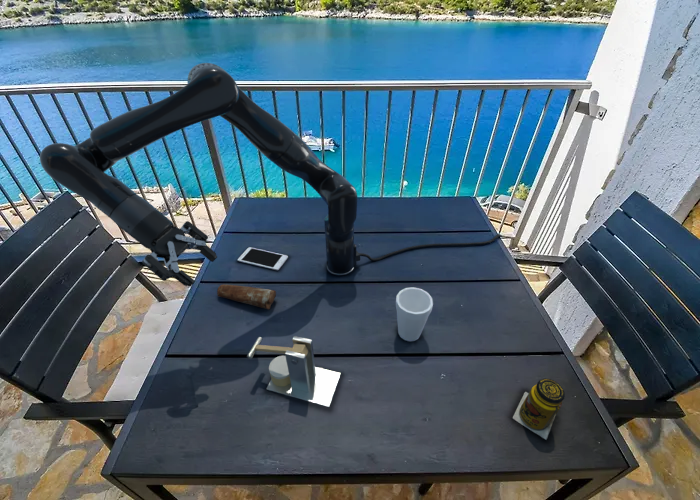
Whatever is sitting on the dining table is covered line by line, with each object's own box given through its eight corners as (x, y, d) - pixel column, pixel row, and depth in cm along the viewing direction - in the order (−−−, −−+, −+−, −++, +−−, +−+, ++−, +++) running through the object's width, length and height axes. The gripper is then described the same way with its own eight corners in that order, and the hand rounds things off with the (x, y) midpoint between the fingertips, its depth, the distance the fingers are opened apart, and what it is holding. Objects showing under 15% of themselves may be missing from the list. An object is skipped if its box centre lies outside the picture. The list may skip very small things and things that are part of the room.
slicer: (266, 391, 84) (256, 355, 75) (282, 360, 91) (274, 323, 82) (329, 409, 81) (326, 373, 72) (340, 375, 88) (339, 338, 78)
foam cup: (428, 324, 100) (435, 292, 92) (423, 349, 93) (430, 317, 85) (396, 315, 103) (400, 284, 95) (388, 340, 96) (392, 308, 88)
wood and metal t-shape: (249, 360, 81) (244, 353, 80) (260, 341, 85) (256, 334, 84) (302, 365, 76) (298, 359, 75) (311, 345, 80) (307, 338, 79)
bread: (270, 314, 103) (267, 301, 100) (215, 299, 108) (210, 287, 105) (279, 299, 108) (277, 286, 105) (226, 286, 113) (222, 273, 109)
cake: (290, 361, 90) (288, 351, 87) (299, 379, 86) (297, 370, 83) (267, 371, 87) (265, 361, 85) (276, 390, 83) (273, 381, 81)
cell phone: (278, 271, 118) (277, 269, 118) (237, 261, 122) (236, 259, 122) (288, 257, 124) (288, 255, 123) (249, 248, 128) (248, 246, 128)
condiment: (512, 418, 79) (528, 390, 71) (525, 391, 84) (541, 362, 76) (545, 440, 75) (567, 413, 68) (557, 410, 80) (578, 382, 73)
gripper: (121, 231, 66) (191, 286, 70) (171, 195, 76) (229, 245, 81) (111, 249, 70) (177, 299, 75) (159, 212, 81) (214, 258, 86)
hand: (204, 271), depth 78 cm, fingers open, 8 cm apart
